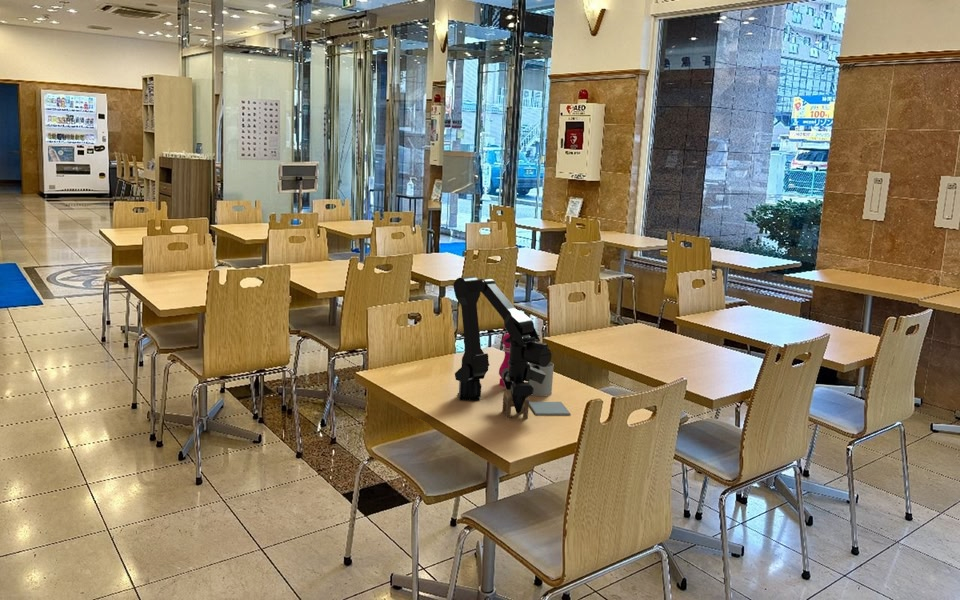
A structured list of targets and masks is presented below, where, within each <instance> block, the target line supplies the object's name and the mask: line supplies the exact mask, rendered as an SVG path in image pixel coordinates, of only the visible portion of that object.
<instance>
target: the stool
mask: <svg viewBox="0 0 960 600" xmlns="http://www.w3.org/2000/svg"><path fill="white" fill-rule="evenodd" d="M510 391H511V389H506V388H505V389H503V398H502V409H501V410H502V413H505V418H506V419H511V413H512V408H513V407H514V408H515V406H514V403H513V399H512V396H511V392H510ZM529 402H530V396H528V397H527V398H526V399H525V401H524V403H523V406H522V409H521V412H520V413H523V414H522V418H523V419H529V418H528V417H529V407H530V406H529Z"/></svg>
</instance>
